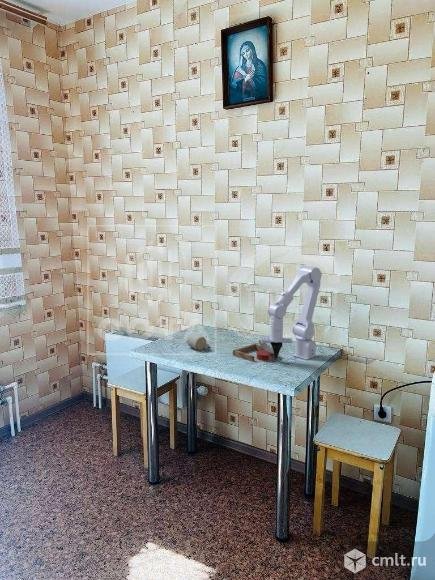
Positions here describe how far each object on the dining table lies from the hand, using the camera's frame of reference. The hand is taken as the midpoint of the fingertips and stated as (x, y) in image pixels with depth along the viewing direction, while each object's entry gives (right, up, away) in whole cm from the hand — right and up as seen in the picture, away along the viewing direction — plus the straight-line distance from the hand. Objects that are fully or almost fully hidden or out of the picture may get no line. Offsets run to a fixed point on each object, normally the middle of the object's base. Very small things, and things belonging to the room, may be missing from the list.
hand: (276, 357), depth 207 cm
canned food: (-4, -1, +6) cm, 7 cm away
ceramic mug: (-37, +1, +22) cm, 43 cm away
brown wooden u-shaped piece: (-9, 0, +10) cm, 14 cm away
